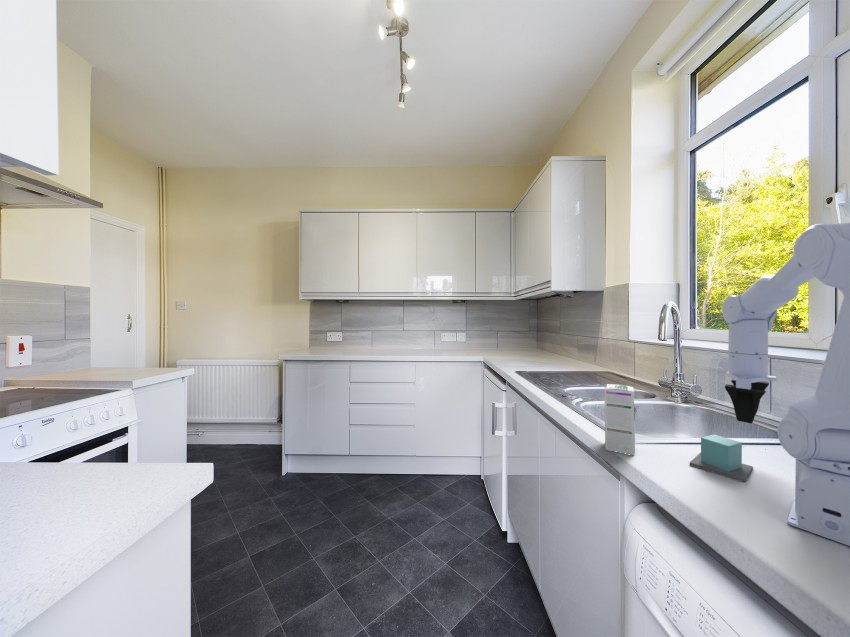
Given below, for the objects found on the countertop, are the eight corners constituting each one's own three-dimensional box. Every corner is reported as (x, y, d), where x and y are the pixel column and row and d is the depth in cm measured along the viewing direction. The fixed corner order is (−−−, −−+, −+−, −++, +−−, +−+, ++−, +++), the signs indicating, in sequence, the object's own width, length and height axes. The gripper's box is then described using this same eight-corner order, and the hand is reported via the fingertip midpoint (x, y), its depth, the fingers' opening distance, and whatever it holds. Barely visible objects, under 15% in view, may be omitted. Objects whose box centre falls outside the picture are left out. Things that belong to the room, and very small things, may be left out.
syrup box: (635, 456, 68) (635, 391, 67) (604, 450, 71) (604, 387, 71) (634, 447, 72) (635, 385, 72) (605, 441, 76) (605, 382, 75)
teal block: (728, 471, 60) (728, 446, 60) (700, 461, 64) (700, 437, 64) (741, 467, 61) (741, 442, 61) (713, 457, 65) (714, 434, 65)
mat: (744, 482, 57) (744, 479, 57) (689, 465, 64) (689, 462, 64) (752, 469, 62) (753, 466, 62) (700, 454, 68) (700, 452, 68)
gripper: (774, 358, 57) (773, 431, 57) (778, 351, 66) (777, 414, 66) (721, 354, 62) (721, 421, 62) (731, 349, 71) (731, 407, 71)
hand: (746, 417), depth 64 cm, fingers open, 7 cm apart
